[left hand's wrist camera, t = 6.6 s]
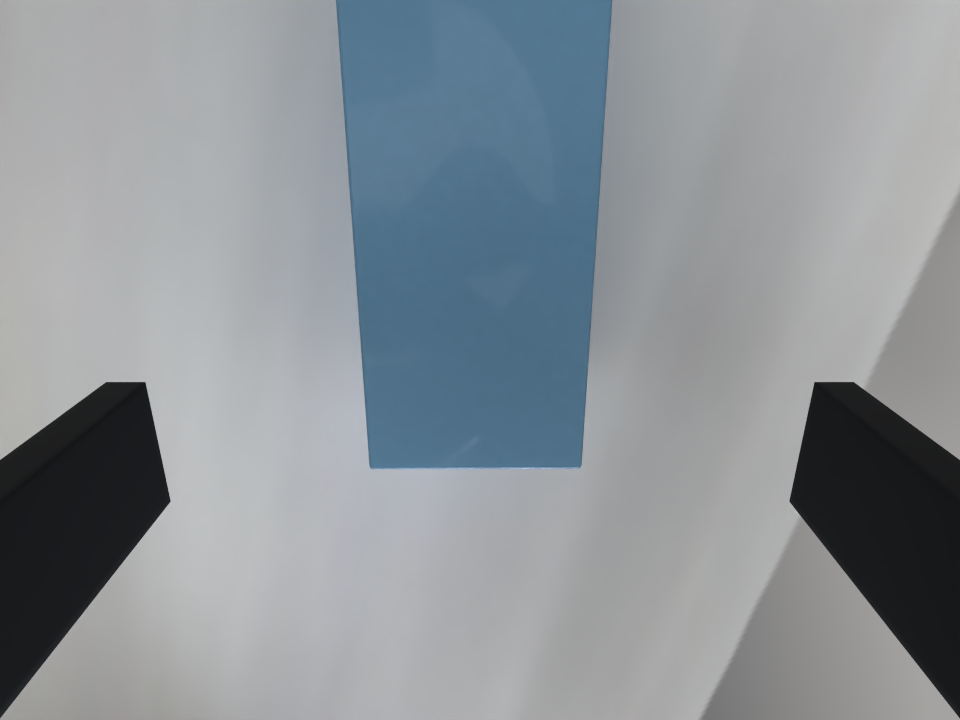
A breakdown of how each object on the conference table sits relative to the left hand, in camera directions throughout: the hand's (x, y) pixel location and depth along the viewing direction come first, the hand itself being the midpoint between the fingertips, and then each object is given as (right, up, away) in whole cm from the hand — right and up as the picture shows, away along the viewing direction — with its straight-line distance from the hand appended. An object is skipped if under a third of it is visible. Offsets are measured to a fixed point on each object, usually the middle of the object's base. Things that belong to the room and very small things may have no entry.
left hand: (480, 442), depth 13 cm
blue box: (0, +9, +12) cm, 15 cm away
